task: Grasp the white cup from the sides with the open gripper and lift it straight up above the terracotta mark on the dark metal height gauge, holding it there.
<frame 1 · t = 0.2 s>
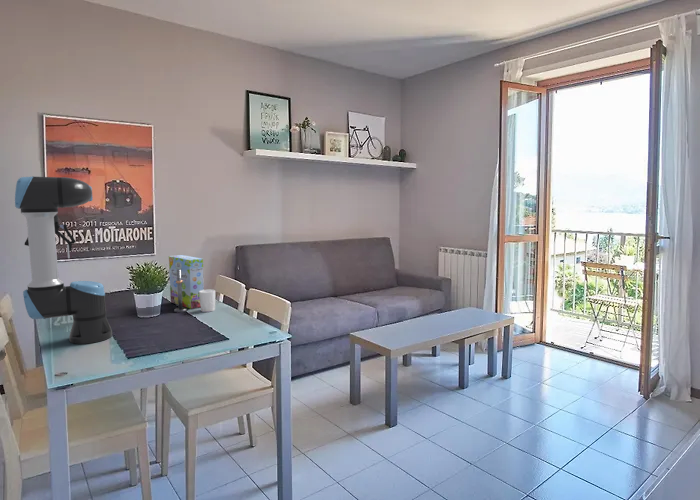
hand: (52, 259, 215), 28 cm above the table, fingers open, 13 cm apart
white cup: (208, 310, 228), on the table
snack box: (186, 305, 240), on the table
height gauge: (180, 311, 227), on the table
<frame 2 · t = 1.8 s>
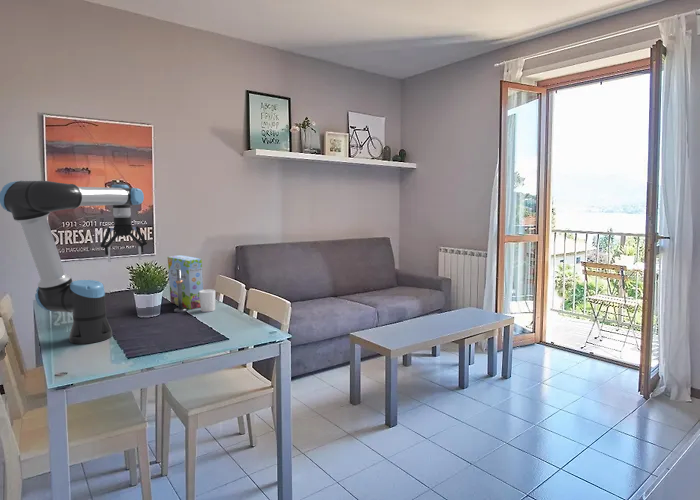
hand: (125, 260, 220), 26 cm above the table, fingers open, 13 cm apart
nothing on the table moved.
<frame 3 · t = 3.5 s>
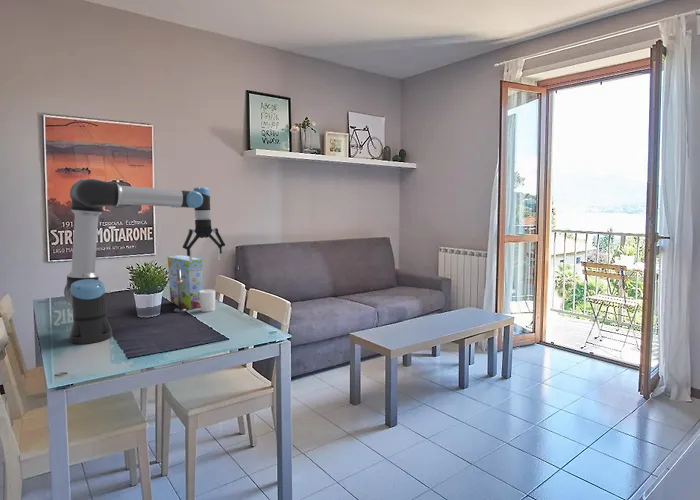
hand: (204, 261, 226), 25 cm above the table, fingers open, 13 cm apart
nothing on the table moved.
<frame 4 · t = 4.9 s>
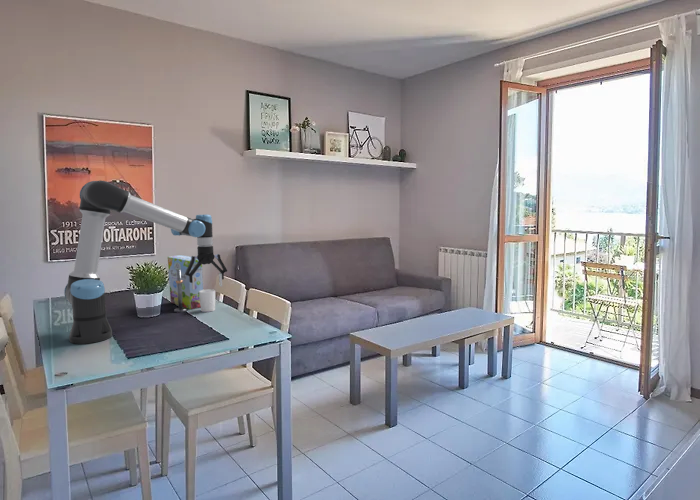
hand: (207, 287, 227), 12 cm above the table, fingers open, 13 cm apart
nothing on the table moved.
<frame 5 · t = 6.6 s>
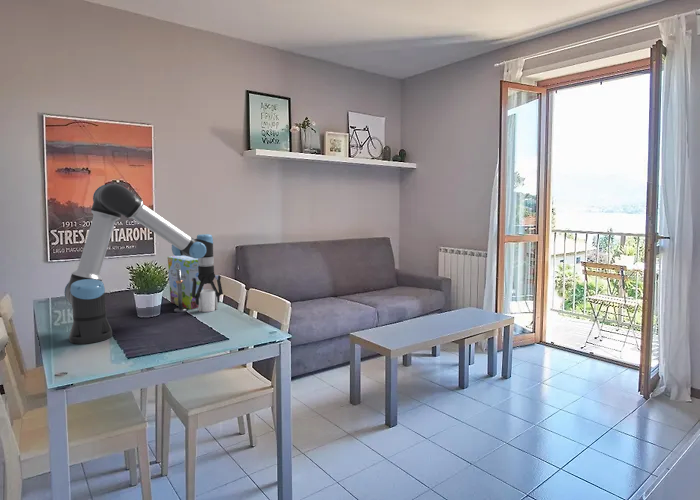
hand: (208, 309, 228), 0 cm above the table, fingers closed on white cup, 8 cm apart
white cup: (208, 310, 228), on the table, touching gripper
everything else where it was.
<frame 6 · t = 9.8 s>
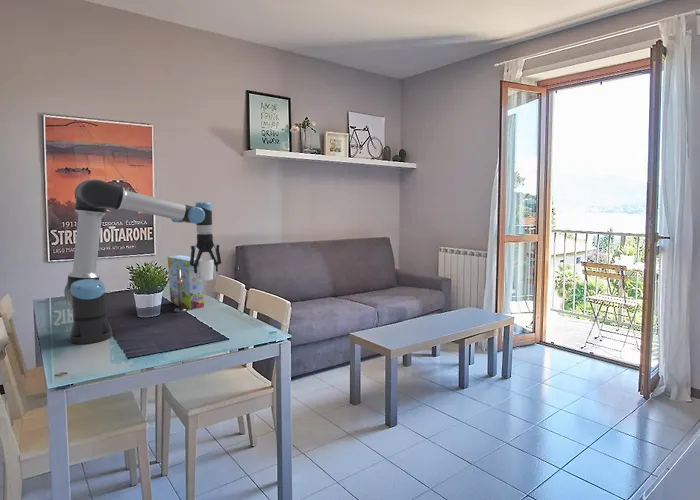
hand: (206, 278, 226), 16 cm above the table, fingers closed on white cup, 8 cm apart
white cup: (206, 279, 226), point 16 cm above the table, touching gripper
everything else where it was.
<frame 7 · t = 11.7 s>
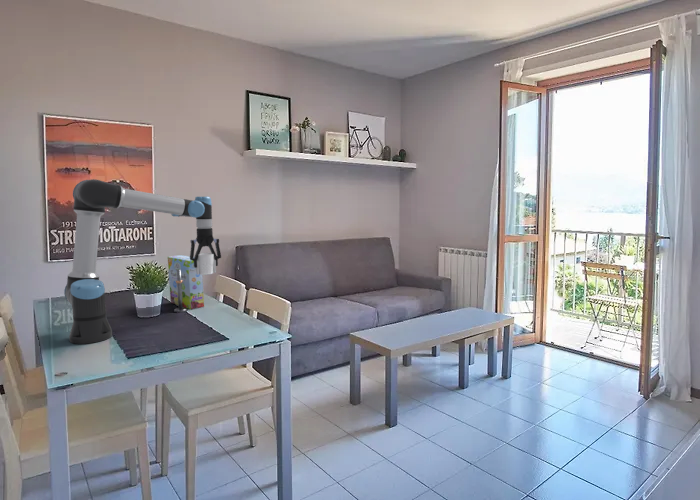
hand: (206, 273, 226), 19 cm above the table, fingers closed on white cup, 8 cm apart
white cup: (206, 274, 226), point 19 cm above the table, touching gripper
everything else where it was.
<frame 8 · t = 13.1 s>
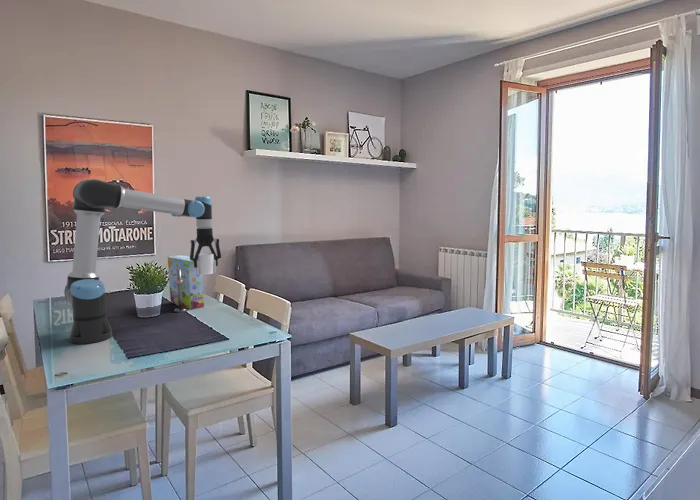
hand: (206, 273, 226), 19 cm above the table, fingers closed on white cup, 8 cm apart
white cup: (206, 274, 226), point 19 cm above the table, touching gripper
everything else where it was.
at the end: the gripper is holding white cup; white cup point 18.5 cm above the table; white cup tilted 0° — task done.
